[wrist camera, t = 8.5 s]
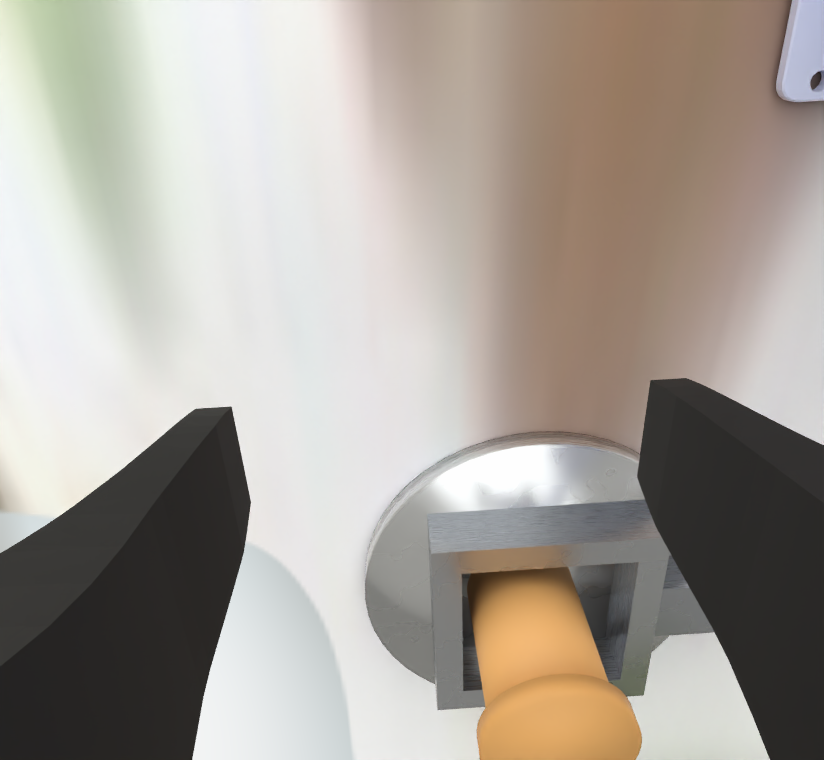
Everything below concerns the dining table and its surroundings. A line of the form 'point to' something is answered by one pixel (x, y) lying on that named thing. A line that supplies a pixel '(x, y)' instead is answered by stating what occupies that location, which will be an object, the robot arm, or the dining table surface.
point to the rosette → (524, 556)
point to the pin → (544, 673)
